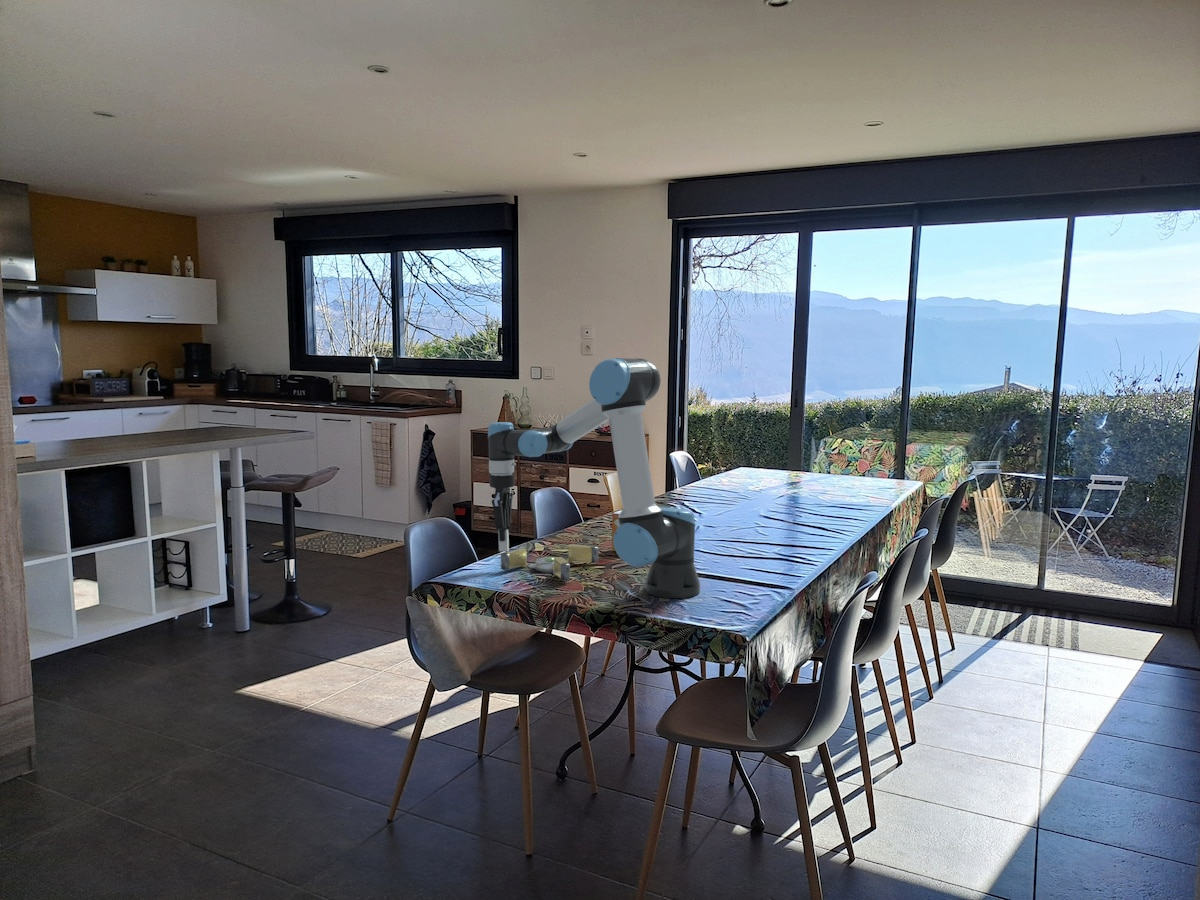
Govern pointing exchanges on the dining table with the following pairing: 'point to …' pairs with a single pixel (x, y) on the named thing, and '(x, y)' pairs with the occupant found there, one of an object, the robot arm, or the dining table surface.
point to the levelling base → (544, 565)
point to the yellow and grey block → (513, 559)
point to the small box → (615, 525)
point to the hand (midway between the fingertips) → (503, 550)
